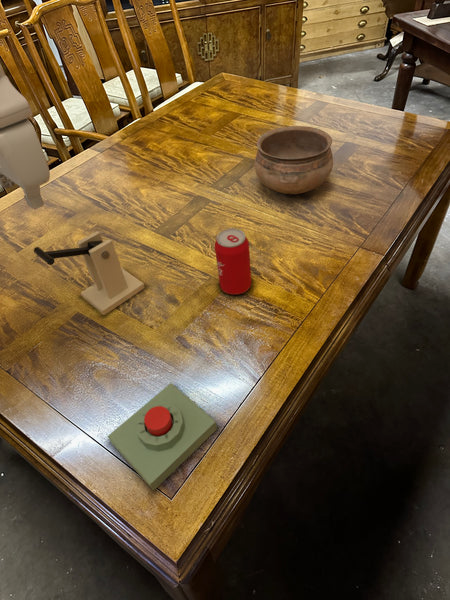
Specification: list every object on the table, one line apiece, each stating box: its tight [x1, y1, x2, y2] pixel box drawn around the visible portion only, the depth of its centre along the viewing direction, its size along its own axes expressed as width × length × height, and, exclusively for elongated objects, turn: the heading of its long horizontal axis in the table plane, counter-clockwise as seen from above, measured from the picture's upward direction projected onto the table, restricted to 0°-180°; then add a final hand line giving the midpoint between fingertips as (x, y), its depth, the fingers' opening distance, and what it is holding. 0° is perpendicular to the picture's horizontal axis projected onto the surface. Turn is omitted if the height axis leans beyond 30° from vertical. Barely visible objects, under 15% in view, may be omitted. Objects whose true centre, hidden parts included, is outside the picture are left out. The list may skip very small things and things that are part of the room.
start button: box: [144, 406, 172, 436], centre depth 58 cm, size 4×4×2 cm
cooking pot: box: [254, 125, 334, 196], centre depth 103 cm, size 25×19×12 cm
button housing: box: [107, 382, 218, 492], centre depth 60 cm, size 12×10×4 cm
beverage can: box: [214, 228, 252, 295], centre depth 78 cm, size 6×6×12 cm
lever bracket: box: [76, 230, 146, 316], centre depth 80 cm, size 10×8×13 cm
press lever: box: [33, 240, 104, 266], centre depth 73 cm, size 12×5×2 cm, turn 135°
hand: (22, 195), depth 61 cm, fingers open, 8 cm apart
